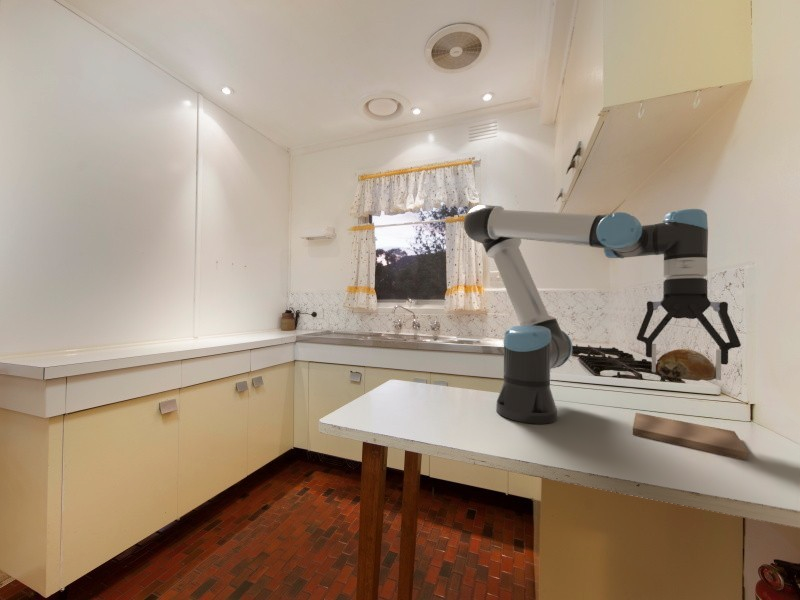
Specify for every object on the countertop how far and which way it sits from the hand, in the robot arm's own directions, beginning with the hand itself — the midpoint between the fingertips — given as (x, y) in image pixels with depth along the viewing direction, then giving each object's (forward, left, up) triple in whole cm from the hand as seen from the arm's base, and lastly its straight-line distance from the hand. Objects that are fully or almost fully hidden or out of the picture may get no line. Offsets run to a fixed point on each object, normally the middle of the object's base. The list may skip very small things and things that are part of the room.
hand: (684, 374), depth 72 cm
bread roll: (0, 0, 0) cm, 1 cm away
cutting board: (0, 0, -14) cm, 14 cm away
